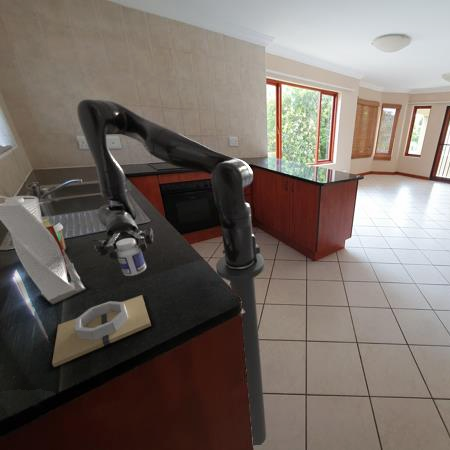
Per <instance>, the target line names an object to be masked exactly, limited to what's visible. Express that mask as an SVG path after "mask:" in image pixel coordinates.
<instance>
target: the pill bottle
mask: <svg viewBox="0 0 450 450" xmlns="http://www.w3.org/2000/svg"><path fill="white" fill-rule="evenodd" d="M116 246H117V248H118V249H119V250H118V251H116V255H117V260H118V261H117V262H118V263H119V266H120V269H121V272H122V274H123V275H124V276H127V277H132V276H137V275H139V274H141V273H143V272H144V271H145V270H146V269H147V263H146V261H145V258H144V254H143V252H142V251H141V248H140V246H137V245H136V242H135V239H133V238H126V239H122V240H120V241H118V242H117V243H116Z"/></svg>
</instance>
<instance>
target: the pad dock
mask: <svg viewBox="0 0 450 450" xmlns="http://www.w3.org/2000/svg"><path fill="white" fill-rule="evenodd" d="M149 327H152V324H151V320H150V317H149V314H148V310H147V307H146V303H145V300H144V297H143V295H142V294H141V295H138V296H135V297H133V298H130V299H127V300H124V301H111V300H110V301H107V302H104V303H101V304H98V305H95V306H92V307H90V308H88V309H87V310H86V311H84V312H83V313H82V314H81V315H79V316H78V317H76V318H73V319H70V320H68V321H65V322H63V323H62V322H61V323H60V324H59V323H58V324H57V330H56V337H55V342H54V350H53V357H52V361H51V364H52V366H53V368H56V367H59V366H61V365H63V364H65V363H68V362H71V361H72V360H74V359H77V358H79V357H82V356H84V355H86V354H89V353H91V352H93V351H95V350H98V349H101V348H103V347H105V346H107V345H110V344H112V343H114V342H117V341H119V340H121V339H124V338H127V337H128V336H131V335H133V334H136V333H138V332H140V331H143V330H145V329H147V328H149Z"/></svg>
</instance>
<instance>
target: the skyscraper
mask: <svg viewBox="0 0 450 450" xmlns="http://www.w3.org/2000/svg"><path fill="white" fill-rule="evenodd" d="M0 199H4V202H2V203H0V221H1V223H2V224H3V226H5V228H6V229H7V230H8V232H9V233H10V237H11V236H12V238H11V240H12V244H13V247H14V250H15V252H16V255H17V257H18V260H19V261H20V263H21V264H22V266H23V268H24V270H25V272H26V273H27V274H28V276H29V278H30V279H31V280H32V282H33V283H34V284H35V286H36V287H37V288H38V290H39V291H40V295H41V296H42V297H43V298H44V299H45V300H46V301H48V303H50V304H51V305H54V304H55V305H56V304H57V303H59V302H61V301H64V300H65V299H68V298H70V297H73V296H74V295H77V294H79V293H82V292H83V291H86V290H87V288H86V287H85V286H84V284H83V283H82V281H81V277H80V275H79V274H78V273H77V270H76V268H75V265H74V262H71V260H70V258H69V255H68V254H66V250H65V251H64V249H63V250H62V251H63V253H64V256H63V255H62V252H61V250H60V248H59V246H58V244H57V242H56V240H55V239H54V237H53V236H52V234H51V233H50V232H49V231H48V229H47V228H46V227H45V226H44V225H43V222H42V219H43V217H42V211H41V206H40V200H39V198H38V196H35V195H15V196H9V197H8V196H5V195H0ZM63 257H64V258H65V260H66V263H67V264H66V266H65V262H64V258H63ZM66 267H67V269H68V271H69V276H70V281H69V280H68V275H67V272H66Z"/></svg>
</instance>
